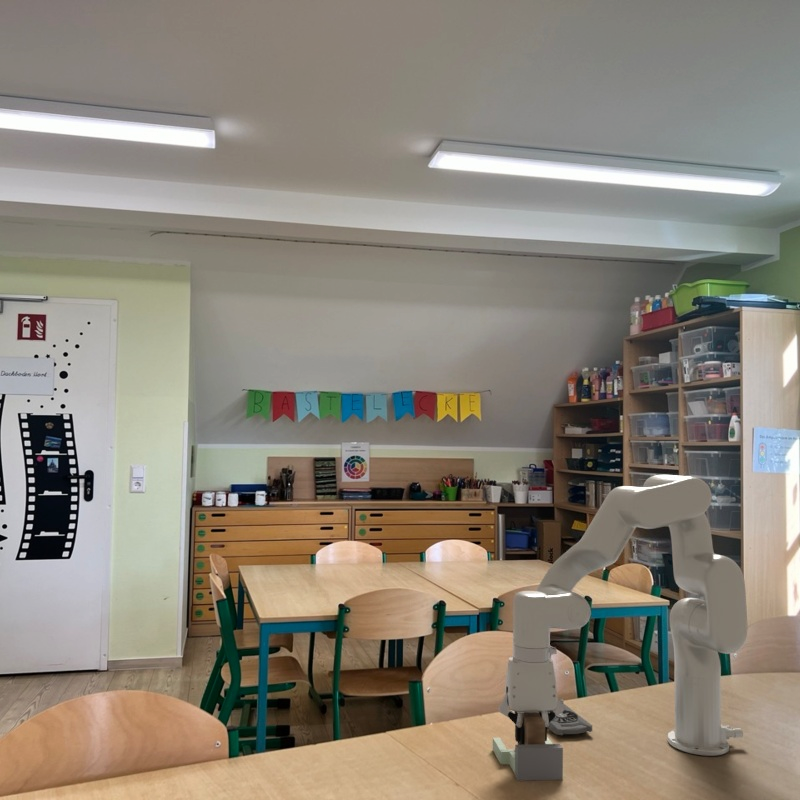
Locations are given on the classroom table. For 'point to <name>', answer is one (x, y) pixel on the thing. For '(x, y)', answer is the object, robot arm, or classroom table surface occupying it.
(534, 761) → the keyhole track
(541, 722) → the brown wooden block
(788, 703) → the classroom table surface
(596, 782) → the classroom table surface
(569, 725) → the graphics card
